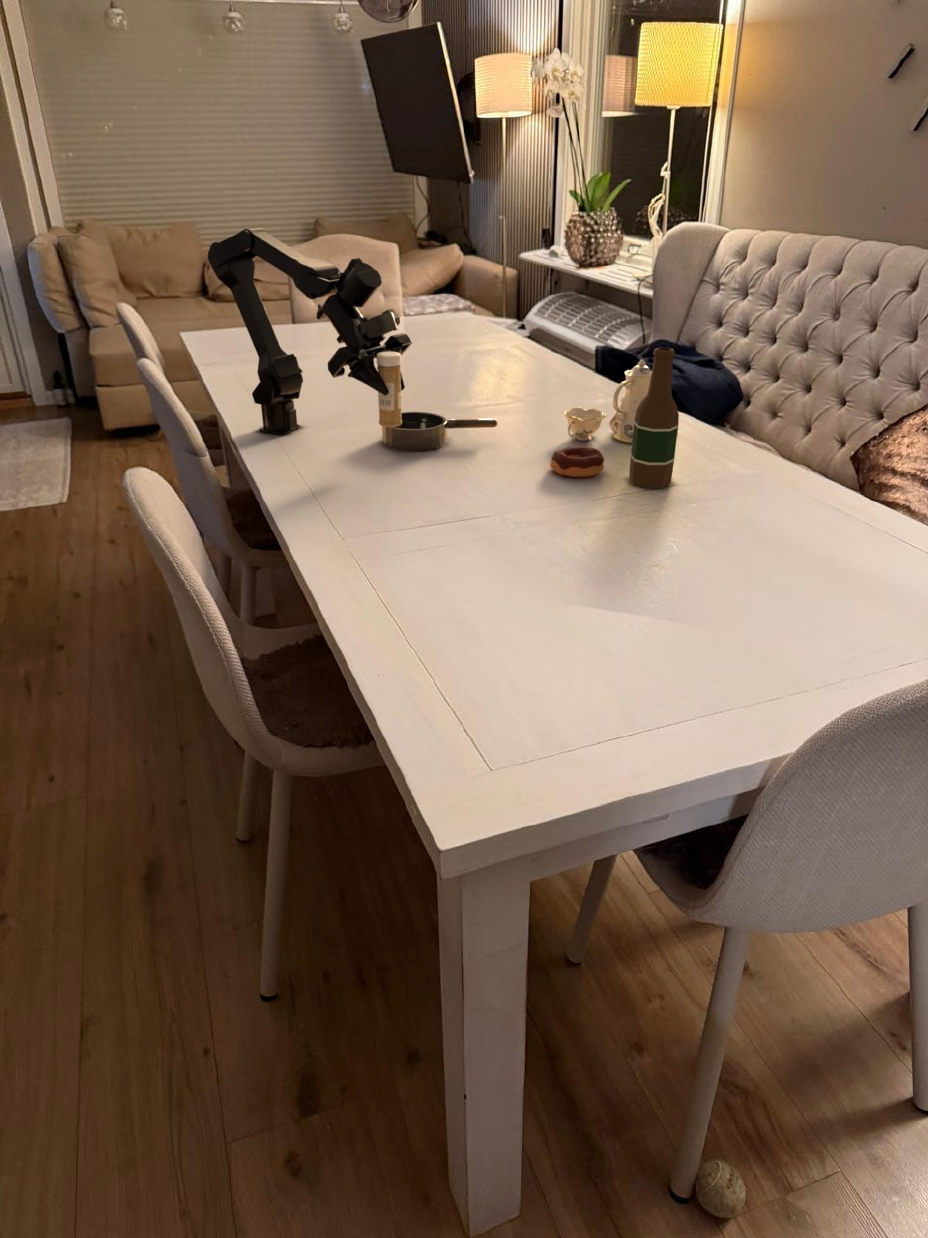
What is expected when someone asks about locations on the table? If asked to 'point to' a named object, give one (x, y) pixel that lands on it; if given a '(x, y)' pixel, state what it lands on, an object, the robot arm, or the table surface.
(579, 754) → the table surface
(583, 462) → the donut
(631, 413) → the chinaware
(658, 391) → the beer bottle
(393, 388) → the sprinkles bottle
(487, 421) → the pan handle
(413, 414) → the pan
